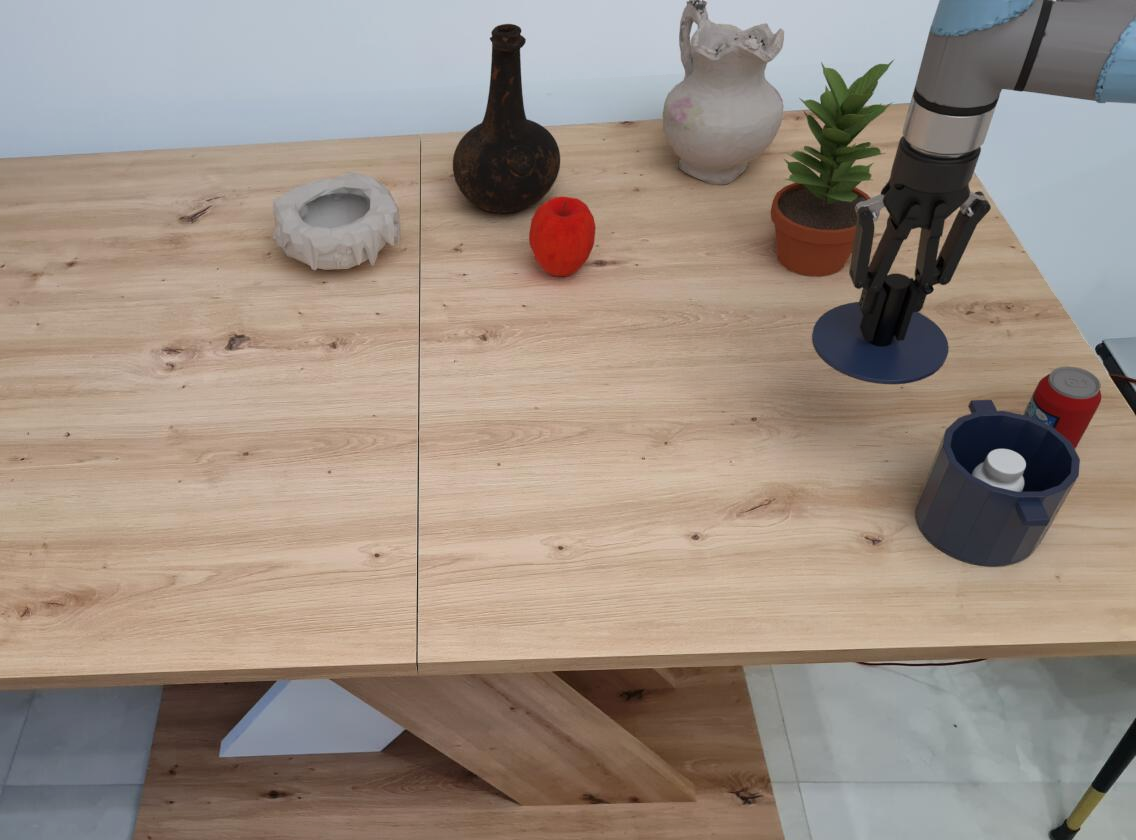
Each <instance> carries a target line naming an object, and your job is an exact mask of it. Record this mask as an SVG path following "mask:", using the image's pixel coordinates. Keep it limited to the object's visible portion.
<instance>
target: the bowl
mask: <svg viewBox="0 0 1136 840" xmlns="http://www.w3.org/2000/svg"><path fill="white" fill-rule="evenodd" d="M395 201H396V200H395V199H394V197H393V195H392V193H391V191H390V189H389V188H387V187H386V186H385V185H384V184H382V183H381V182H380V181H379V180H378V179H376V178H375V177H374V176H373V177H372V176H371V175H366V174H362V173H357V172H348V171H347V172H344V173H341V174H339V175H337V176H336V177H327V178H320V179H314V180H312V181H309V182H306V183H304V184H301V185H297V186H295V187H292V188H291V189H290V190H289V191H288V192H286V193H283V194H282V195H279V196H277V197H276V198H274V199H273V204H272V205H273V206H272V213H273V218H274V223H275V228H274V230H273V235H272V239H273V240H275V242H276V246H277V247H279V248H281V249H282V251H283V253H284V254H285V255H286V257H287V258H290V259H295V260H297V261H299V262H301V263H303V264H305V265H308V266H310V268H311V270H313V271H317V269H319V270H324V271H327V270H348V269H351V268H353V267H355V266H360V265H361V264H362V263H364V262H366V261H369V264H370V266H372V267H374V265H375V263H376V260H377V258H378V253H379V252H380V251H381V250H382V249H383V248H384V247H385V246H386V245H387V243H388V244H389V245H390V246H391V247H394V246H395V243H397V244H398V245H399V246H400V245H401V243H400V242H401V218H400V212H399V206H398V204H397V203H396V202H395Z"/></svg>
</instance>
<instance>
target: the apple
mask: <svg viewBox="0 0 1136 840" xmlns="http://www.w3.org/2000/svg"><path fill="white" fill-rule="evenodd" d="M529 227H530V228H529V234H528V242H529V247H530V249H531V252H532V254H533V256H534V258H535V260H536V262H537V263H538V264H539V266H540V267H541V268H542V269H543V270H544V271H545V272H546V273H547V274H549V275H551V276H555V277H567V276H568V277H569V276H571V275H573V274H575V273H577V272H578V271H579V270H580V269H581V268H582V266H584V264H585V263H586V262H587V261H588V259H589V257H590V256H591V253H592V250H593V248H594V246H595V241H596V240H595V238H596V227H597V226H596V222H595V219H594V216H593V213H592V212H591V210H590V208H589V206H588V204H586V203H585V202H583V201H582V200H581V199H579V198H575V197H569V196H555V197H553V198H550V199H549V200H546V201H545V202H544V203H542V204H541V205H540V206H538V207H537V208H536V210H535V211H534V213H533V216H532V218H531V222H530V226H529Z"/></svg>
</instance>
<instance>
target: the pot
mask: <svg viewBox="0 0 1136 840" xmlns="http://www.w3.org/2000/svg"><path fill="white" fill-rule="evenodd" d="M967 407H968V409H969V412H970V413H969V414H966V415H963V416H960V417H958V418H957V419H955V421H953V422H952V423H951V424H950V425H949V426H948V427H947V428H946V429H945V430H944V433H943V435H942V437H941V441H940V443H939V445H938V448H937V450H936V453H935V455H934V457H933V460H932V462H931V465H930V467H929V470H928V471H927V475H926V477H925V479H924V482H923V484H922V486H921V489H920V492H919V494H918V496H917V500H916V504H915V507H914V518H915V522H916V525H917V527H918V529H919V531H920V532H921V534H922V535H923V537H925V539H926V540H927V541H928V542H929V543H930V544H931V545H932V546H934V547H935V548H936V549H937V550H939V551H940V552H942V553H943V554H945V555H947V556H949V557H951V558H953V559H955V560H958V561H960V562H964V563H966V564H970V565H975V566H980V567H991V568H993V567H996V568H997V567H1006V566H1012V565H1014V564H1018V563H1021V562H1022V561H1024V560H1026V559H1027V558H1029V557H1030V556H1031V555H1033V554H1034V552H1035V551H1036V550H1037V549H1038V547H1039V546H1040V545H1041V543H1042V542H1043V540H1044V538H1045V537H1046V535H1047V533H1048V531H1049V529H1050V527H1051V526H1052V524H1053V522H1054V520H1055V519H1056V517H1057V515H1058V514H1059V511H1061V509H1062V507H1063V505H1064V503H1065V502H1066V499H1067V498H1068V496H1069V494H1070V492H1071V491H1072V489H1073V487H1074V485H1075V483H1076V482H1077V480H1078V478H1079V476H1080V466H1081V458H1080V456H1079V455H1078V453H1077V451H1076V449H1074V447H1073V445H1072V443H1071V442H1070V441H1069V440H1068V439H1066V438H1065V437H1064V436H1063V435H1062V434H1060V433H1059V432H1058V431H1057V430H1056V429H1054V428H1053V427H1052V426H1049V425H1047V424H1045V423H1043V422H1041V421H1039V420H1037V419H1034V418H1032V417H1030V416H1026V415H1023V414H1021V413H1017V412H1013V411H1007V410H997V408H996V405H995V403H994V401H993V400H992V399H971V400H969V403H968V406H967ZM995 449H1009V450H1012V451H1014V452H1017V453H1018V454H1020V455H1021V456H1022V457H1023V458H1024V460H1025V462H1026V467H1025V470H1024V472H1023V475H1022V476H1023V478H1024V487H1023V490H1022V492H1016V491H1012V490H1008V489H1003V488H999V487H995V486H992V485H990V484H988V483H986V482H984V481H982V480H980V479H978V478H976V477H974V476H972V475H971V474H972V472H973V470H974V469H975V468H976V467H977V466H978V465H979V464H981V463H983V462H984V461H985V459H986V457H987V455H988V454H989V453H990V452H991V451H993V450H995Z"/></svg>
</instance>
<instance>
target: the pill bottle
mask: <svg viewBox="0 0 1136 840" xmlns="http://www.w3.org/2000/svg"><path fill="white" fill-rule="evenodd" d="M1025 467H1026V462H1025V460H1024V458H1023V457H1022V456H1021V455H1020V454H1018V453H1017V452H1014V451H1012V450H1009V449H995V450H993V451H991V452H990V453H989V454H988V455H987V457H986V459H985V461H984V462H983V463H981V464H979V465H978V466H977V467H976V468H975V469H974V470H973V472H972V474H971V475H972V476H974V477H976V478H978V479H980V480H982V481H984V482H986V483H988V484H990V485H992V486H995V487H999V488H1003V489H1008V490H1012V491H1016V492H1022V490H1023V487H1024V478H1023V476H1022V475H1023V472H1024V470H1025Z"/></svg>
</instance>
